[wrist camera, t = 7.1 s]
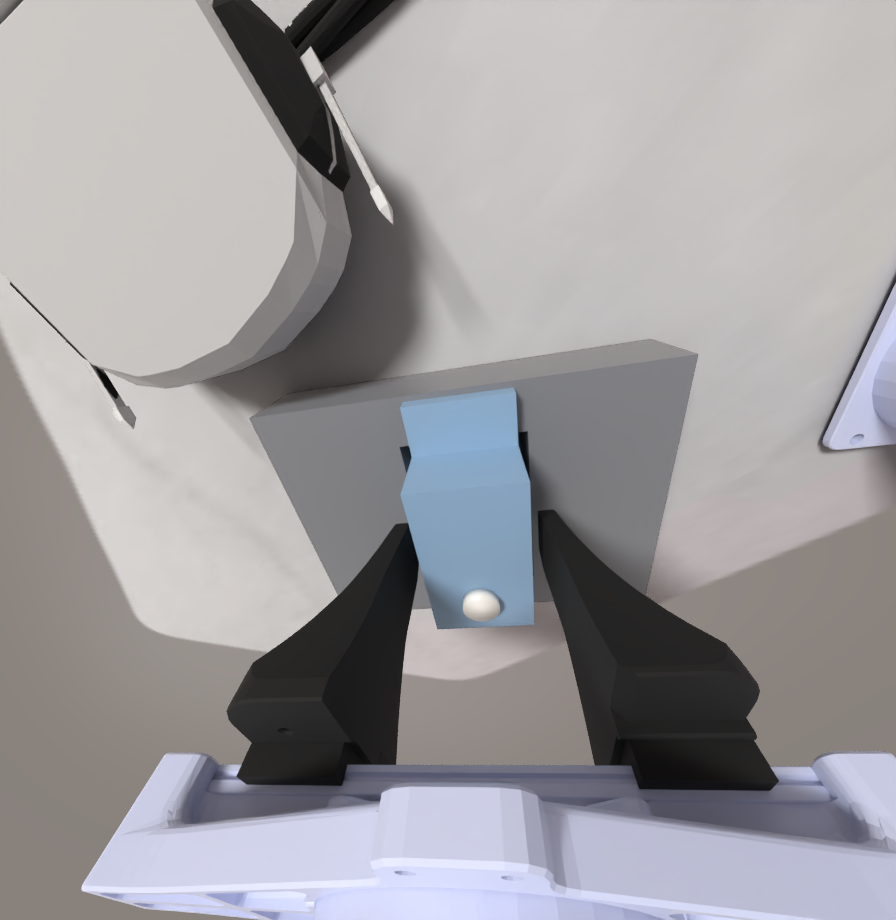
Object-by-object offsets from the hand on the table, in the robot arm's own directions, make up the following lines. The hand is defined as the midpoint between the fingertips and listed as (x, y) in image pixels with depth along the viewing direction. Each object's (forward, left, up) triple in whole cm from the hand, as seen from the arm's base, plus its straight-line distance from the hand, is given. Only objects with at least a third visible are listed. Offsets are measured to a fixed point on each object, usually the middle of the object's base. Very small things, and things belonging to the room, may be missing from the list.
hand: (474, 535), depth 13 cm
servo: (0, 0, -3) cm, 4 cm away
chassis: (0, 0, -4) cm, 4 cm away
